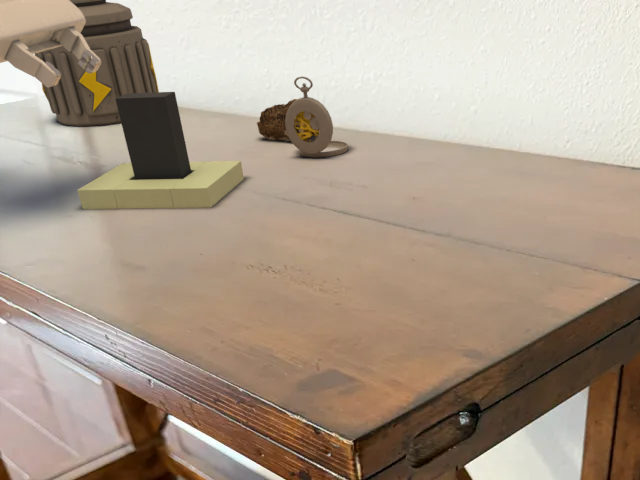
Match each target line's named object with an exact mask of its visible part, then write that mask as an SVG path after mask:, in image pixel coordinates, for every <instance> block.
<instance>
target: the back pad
mask: <svg viewBox="0 0 640 480" xmlns="http://www.w3.org/2000/svg"><path fill="white" fill-rule="evenodd" d="M115 99H116V103H117V108H118V112H119V116H120V120H121V127H122V131H123V134H124V140H125V144H126V147H127V151H128V156H129V159H130V163H131V164H132V168H133V172H134V176H135V180H154V179H184V178H185V177H187V176H188V175H189V174H191V168H190V163H189V162H190V158H189V154H188V149H187V144H186V139H185V134H184V130H183V126H182V121H181V115H180V111H179V105H178V101H177V96H176V92H175V91H159V92H154V93H127V94H124V95H122V96H120V97H118V98H115Z"/></svg>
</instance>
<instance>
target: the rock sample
mask: <svg viewBox="0 0 640 480" xmlns="http://www.w3.org/2000/svg"><path fill="white" fill-rule="evenodd" d="M297 99H298V98H294V99H291V100H289V101H288V102H286V103H282V104H281V103H280V104H273V105H272V106H270V107H265V109H264V110H262V111H261V112H260V115H259V121H257V122H256V126H257V129H258V133H259V135H260V136H262V137H264V138H266V139H267V140H270V141H285V142H286V141H287V142H288V141H289V142H291V140H290V139H289V136H288V134H287V131H286V125H285V118H286V113H287V111H288V109H289V107H290V105H291V104H292V103H293V102H294V101H296V100H297ZM299 118H300V117H299ZM300 119H301V118H300ZM298 120H299V119H298ZM297 123H299V122H298V121H297ZM299 124H300V125H301V123H299ZM299 124H298V126H300V125H299ZM303 125H304V124H303ZM305 126H306V125H305ZM300 130H303V129H300ZM300 130H299V132H300V133H302V132H305V131H300ZM316 131H317V130H316ZM304 136H306V135H304Z"/></svg>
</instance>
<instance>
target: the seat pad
mask: <svg viewBox="0 0 640 480" xmlns="http://www.w3.org/2000/svg"><path fill="white" fill-rule="evenodd" d="M189 163H190V168H191V174H189V175H188V176H187V177H185V178H184V179H154V180H135V176H134V172H133V168H132V164H131V162H128V163H127V162H125V163H120V164H119V165H117V166H116V167H114V168H111V169H110V170H109V171H107V172H105V173H103V174H101V175H100V176H98V177H97V178H95V179H93V180H91V181H90V182H89V183H86V184H85V185H82V187H80V188H78V189H77V190H76V191H77V194H78V197H79V201H80V204H81V207H82V209H83V210H109V209H110V210H112V209H113V210H115V209H119V210H120V209H122V210H123V209H190V208H191V209H193V208H194V209H195V208H197V209H200V208H201V209H202V208H204V209H205V208H212V207H213V206H214V205H216V204H217V203H218V202H219V201H220V200H221V199H222V198H224V197H226V195H228V193H230V192H232V190H233V189H234V188H235V187H237V186H238V185H239V184H240V183H241V182H243V181H244V179H245V176H244V171H243V165H242V161H241V160H216V161H213V160H212V161H211V160H209V161H189Z"/></svg>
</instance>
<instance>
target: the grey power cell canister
mask: <svg viewBox="0 0 640 480" xmlns="http://www.w3.org/2000/svg"><path fill="white" fill-rule="evenodd" d="M70 1H71V2H72V3H73V4H74V5H75V6H76V7H78V8H79V9H80V11H81V12H82V13H83V15H84V17H85V19H86V23H85V25H84V27H83V29H82V31H81V34H82V35H83V37H84V39H85V41H86V42H87V44H88V46H89V47H90V50H92V51H93V52H94V53H95V54H96V55H97V56H98V57H99V58H100V60H101V65H100V67H99V69H98V70H97V71H96V72H93V73H87V72H86V71H85V69H83V68H82V67H81V66H80V65H78V64H77V63H78V61H79V60H78V59H77V57H76V56H75V55H74V54H73V52H72V51H68V50H67V49H66V48H64V47H63V46H60V47H57V48H53V49H50V50H46V51H42V52H39V53H35V54H34V55H35V56H36V57H38V58H39V59H41V60H42V61H44V62H48V61H49V62H50V63H51V64H52V65H53V66H54V67H55V68H56V69H58V70H59V71H60V73H61V78H60V80H59V81H58V84H57V85H55V86H52V87H49V88H48V87H46V86H45V85H43V84H42V83H41V89H42V92H43V94H44V95H45V98H46V99H47V102H48V105H49V108H50V111H51V113H52V114H54V115H55V116H56V119H57V121H58V123H60V124H62V125H65V126H71V127H92V126H93V127H95V126H106V125H113V124H120V123H121V120H120V116H119V112H118V108H117V103H116V99H115V98H118V97H120V96H122V95H124V94H127V93H154V92H160V91H159V85H158V80H157V75H156V71H155V67H154V63H153V62H154V61H153V58H152V53H151V47H150V44H149V42H148V40H147V39H146V38H144V37H143V32H142V31H143V30H142V29H141V28H140V27H139V26H137V25H132V23H131V20H132V19H133V18H134V17H133V13H132V10H131V8H130V7H127V6H126V5H123V4H121V3H119V2H109V1H107V0H70Z"/></svg>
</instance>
